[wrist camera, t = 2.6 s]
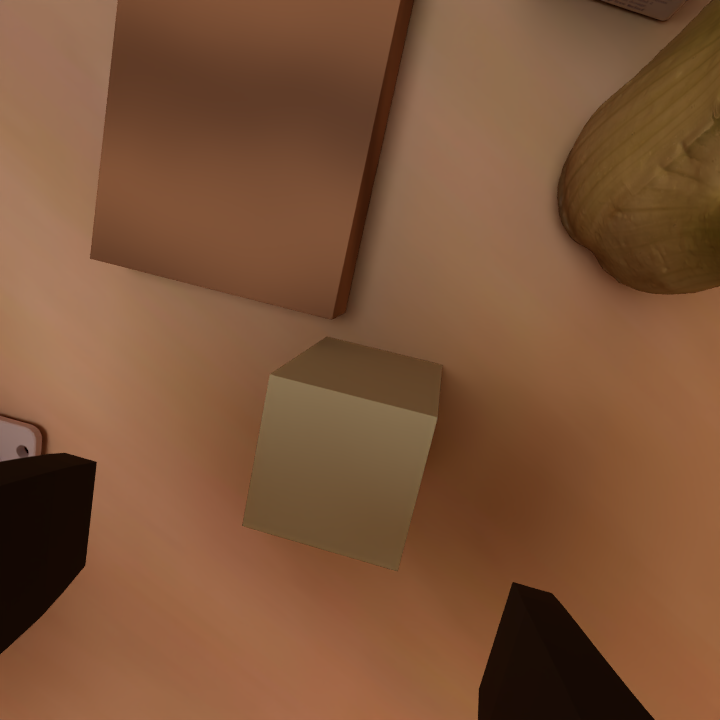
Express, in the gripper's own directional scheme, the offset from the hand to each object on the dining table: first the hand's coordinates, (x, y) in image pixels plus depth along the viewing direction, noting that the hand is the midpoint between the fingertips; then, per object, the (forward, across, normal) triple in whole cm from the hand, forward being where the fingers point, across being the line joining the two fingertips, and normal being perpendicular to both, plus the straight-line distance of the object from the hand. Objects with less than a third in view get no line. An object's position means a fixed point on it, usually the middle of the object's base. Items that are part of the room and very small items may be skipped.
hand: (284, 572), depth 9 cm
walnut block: (+10, +6, -8) cm, 14 cm away
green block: (+10, 0, 0) cm, 10 cm away
